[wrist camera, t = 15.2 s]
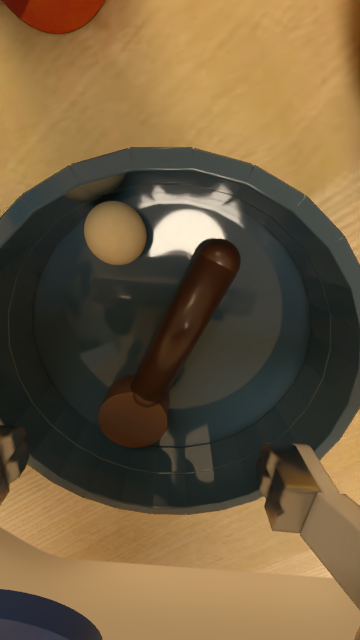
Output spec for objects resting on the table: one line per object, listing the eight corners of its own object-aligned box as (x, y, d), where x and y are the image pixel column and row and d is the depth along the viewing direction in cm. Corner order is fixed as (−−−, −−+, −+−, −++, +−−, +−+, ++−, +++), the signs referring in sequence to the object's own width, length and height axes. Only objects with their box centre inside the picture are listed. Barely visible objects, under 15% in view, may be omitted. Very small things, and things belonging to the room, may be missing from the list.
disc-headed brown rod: (189, 220, 13) (190, 217, 10) (259, 259, 13) (275, 264, 11) (98, 411, 17) (85, 438, 15) (153, 433, 18) (149, 462, 16)
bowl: (257, 464, 20) (280, 535, 15) (28, 422, 18) (-25, 486, 14) (371, 228, 13) (476, 223, 8) (28, 138, 12) (-73, 74, 7)
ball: (112, 234, 14) (102, 181, 11) (156, 251, 13) (157, 200, 11) (80, 264, 12) (61, 211, 10) (129, 285, 12) (122, 234, 9)
